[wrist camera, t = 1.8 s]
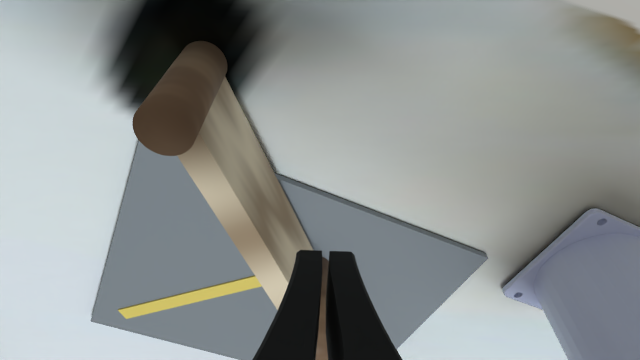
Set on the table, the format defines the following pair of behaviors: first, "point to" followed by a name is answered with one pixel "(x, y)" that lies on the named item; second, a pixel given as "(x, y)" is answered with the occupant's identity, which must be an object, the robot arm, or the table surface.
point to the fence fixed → (322, 316)
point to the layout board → (236, 276)
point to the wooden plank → (223, 162)
